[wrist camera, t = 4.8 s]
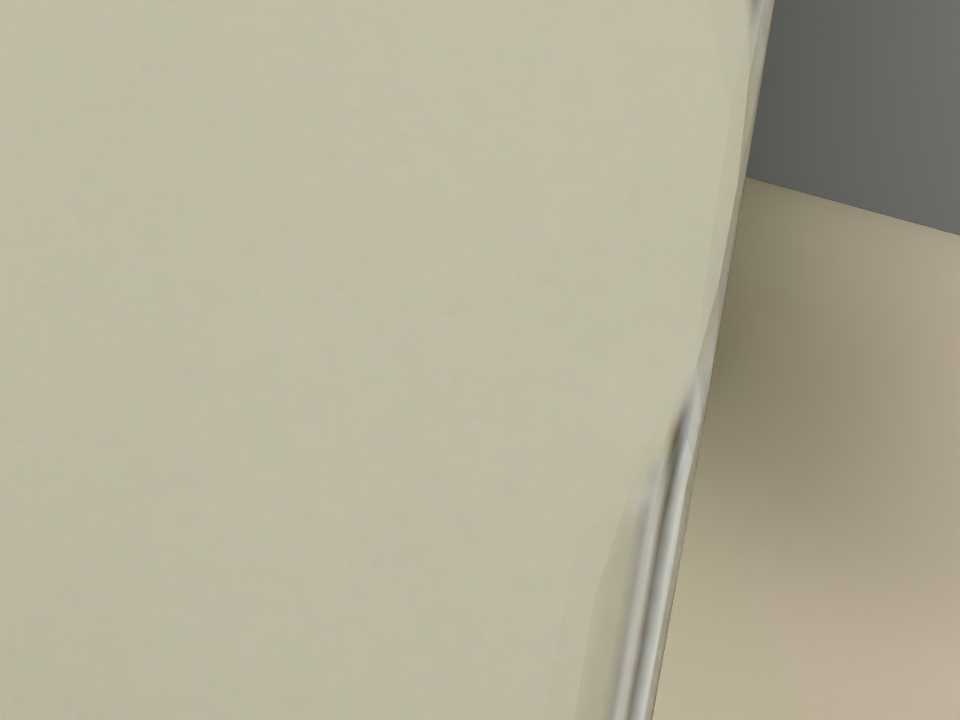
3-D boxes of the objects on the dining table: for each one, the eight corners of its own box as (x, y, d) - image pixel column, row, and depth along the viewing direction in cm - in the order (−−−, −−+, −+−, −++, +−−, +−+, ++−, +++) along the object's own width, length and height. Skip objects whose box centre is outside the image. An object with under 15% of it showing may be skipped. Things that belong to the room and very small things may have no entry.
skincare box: (484, 114, 16) (-211, -764, 4) (746, 143, 15) (955, -933, 3) (419, 488, 16) (-464, 802, 4) (677, 542, 15) (576, 1209, 3)
